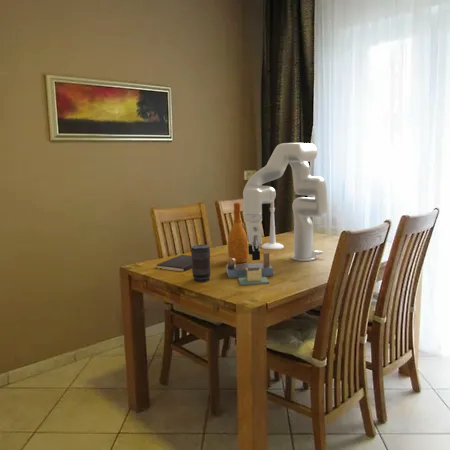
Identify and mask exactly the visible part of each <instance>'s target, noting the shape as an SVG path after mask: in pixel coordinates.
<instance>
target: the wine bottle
mask: <svg viewBox="0 0 450 450" xmlns="http://www.w3.org/2000/svg"><path fill="white" fill-rule="evenodd" d="M233 212H234V218H233V222H232V223H233V224H232V225H231V228H230V231H229V234H228V237H227V250H228V251H227V252H228V258H235V264H245V263H246V262H247V261H248V254H249V249H248V246H249V243H248V239H247V232H246V230H245V228H246V227H245V224H244V222H242V220H241V203H240V202H234V203H233Z"/></svg>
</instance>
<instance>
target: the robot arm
mask: <svg viewBox="0 0 450 450" xmlns="http://www.w3.org/2000/svg"><path fill="white" fill-rule="evenodd" d="M317 155H318V150H317V147H316V145H315V144H314V143H309V142H307V143H306V142H305V143H304V142H284V143H280V144H277V145H276V147H275V148H274V150H273V152H272V154H271V156H270V157H269V159H268V161H267V164H266V165H265V166H264V167H261V168H260V169H259V170H258V171H255V173H253V174H252V175H251V176H250V177H249V178H248V180H247V182H246V184H245V185H244V188H243V192H242V197H243V198H242V199H243V221H244V222H245V223H246V236H247V243H248V254H249V256H250V255H251V260H252V261H260V260H261V250H260V246H262V245H263V241H262V240H263V239H262V238H263V237H262V226H261V225H262V224H261V222H262V221H263V204H271V202H273V201H274V202H275V199H276V196H277V193H276V192H277V191H276V189H275V188H274V187H272V186H270V185H264V184H266V183H269V182H271V181H274V180H275V181H276V180H277V179H279V178H282V176H284V173H285V171H286V169H287V166H288V165H290V167H291V171H292V172H291V173H292V182H293V189H294V190H293V191H294V193H295V194H296V195H299V196H298V197H296V198H295V199H294V200H293V202H292V205H291V206H292V212H293V220H294V224H293V225H294V227H293V228H294V230H293V231H294V233H293V234H294V236H293V239H294V240H293V241H294V242H293V244H294V245H293V249H294V251H293V254H292V255H291V256H290V258H291V259H292V260H293V261H297V262H298V261H299V262H308V261H309V262H311V261H314V260H316V259H317V256H321V255H323V251H322V250H315V249H314V223H313V220H312V219H311V217H313V218H323V217H325V216H326V215H327V213H328V192H327V183H326V180H325V178H323V176H318V175H316V176H314V175H311V171H310V170H311V168H310V165H309V164H310V163H309V162H314V161H315V159H316V158H317ZM305 196H307V197H305ZM309 196H310V197H309ZM311 196H312V197H311ZM244 222H243V223H244Z"/></svg>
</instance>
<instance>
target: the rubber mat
mask: <svg viewBox="0 0 450 450" xmlns="http://www.w3.org/2000/svg"><path fill="white" fill-rule="evenodd" d="M237 278H238V282H239V284H240V286H245V285H247V286H248V285H269V284H270V280H268V277H267V276H262V281H252V282H248V281H247V280H246V277H237Z"/></svg>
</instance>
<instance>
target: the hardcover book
mask: <svg viewBox="0 0 450 450" xmlns="http://www.w3.org/2000/svg"><path fill="white" fill-rule="evenodd" d="M156 267H157V269H160V268H162V269H161V270H170V271H178V272H186V271H189V270H192V257H191V255H189V254H188V255H187V254H181V255H177V256H175V257H173V258H171V259H167V260H165V261H163V262H160V263H157V264H156Z"/></svg>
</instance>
